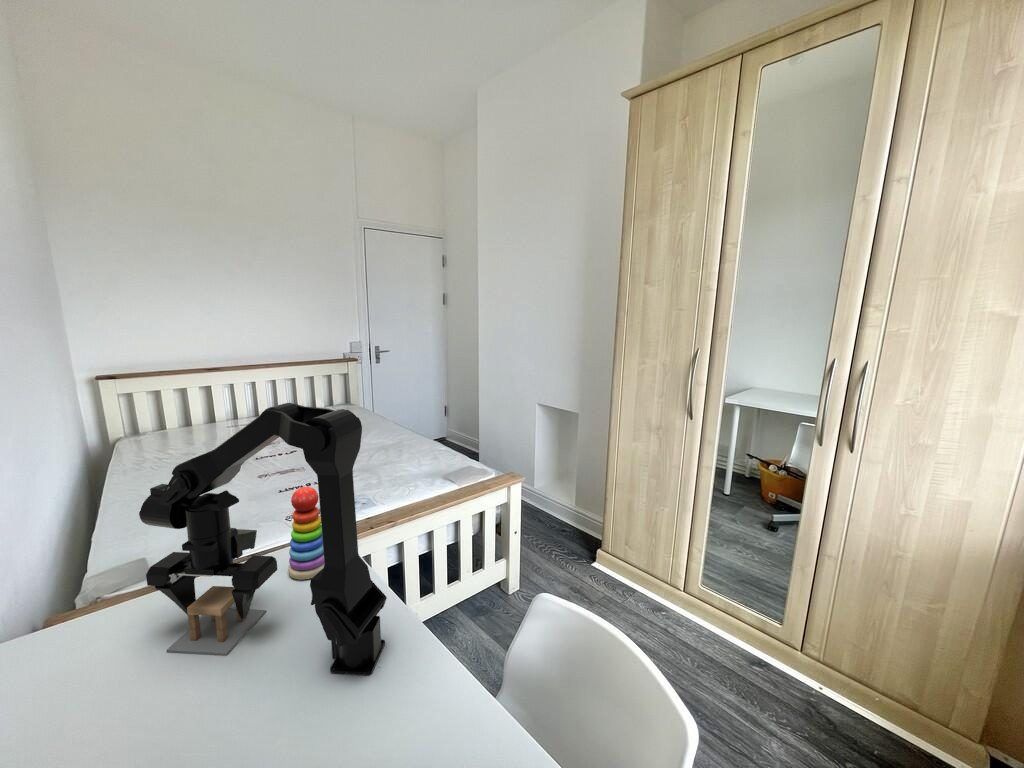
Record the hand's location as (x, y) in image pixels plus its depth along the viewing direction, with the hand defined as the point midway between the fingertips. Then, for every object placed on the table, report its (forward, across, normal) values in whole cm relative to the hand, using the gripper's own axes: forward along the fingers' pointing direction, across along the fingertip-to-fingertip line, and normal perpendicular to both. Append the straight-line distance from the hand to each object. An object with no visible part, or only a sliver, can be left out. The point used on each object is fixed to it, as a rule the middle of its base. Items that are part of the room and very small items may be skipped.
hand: (218, 615), depth 71 cm
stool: (+2, 0, 0) cm, 2 cm away
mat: (+3, 0, 0) cm, 3 cm away
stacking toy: (+3, -6, -18) cm, 19 cm away
